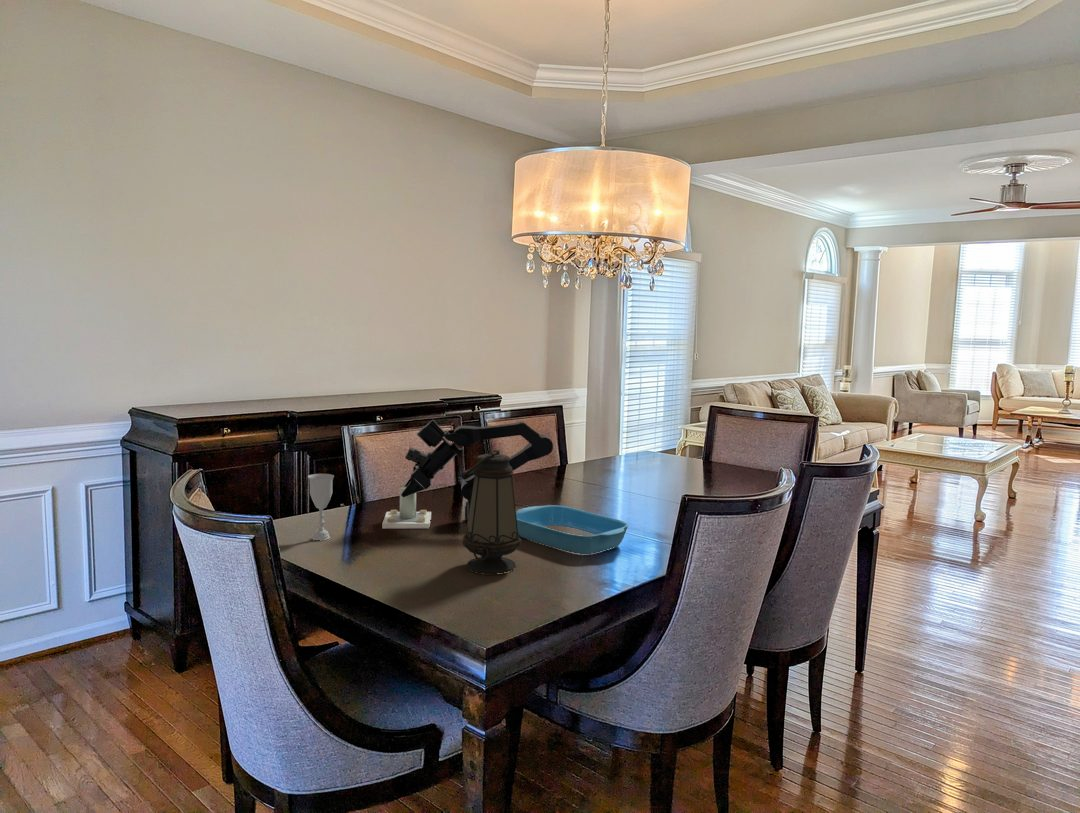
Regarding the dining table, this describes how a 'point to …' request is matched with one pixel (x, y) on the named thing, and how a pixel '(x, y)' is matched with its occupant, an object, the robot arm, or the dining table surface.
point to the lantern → (491, 515)
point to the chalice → (321, 499)
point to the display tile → (407, 520)
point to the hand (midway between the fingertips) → (403, 492)
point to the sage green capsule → (407, 505)
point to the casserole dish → (539, 517)
